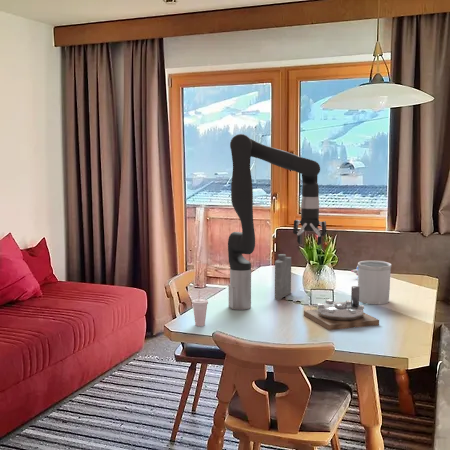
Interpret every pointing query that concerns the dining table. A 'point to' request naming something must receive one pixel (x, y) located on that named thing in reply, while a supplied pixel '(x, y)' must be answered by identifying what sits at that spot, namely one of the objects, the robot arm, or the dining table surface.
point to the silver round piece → (343, 308)
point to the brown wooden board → (340, 321)
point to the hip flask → (282, 276)
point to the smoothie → (200, 310)
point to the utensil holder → (374, 281)
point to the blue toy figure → (355, 270)
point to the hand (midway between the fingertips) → (309, 244)
